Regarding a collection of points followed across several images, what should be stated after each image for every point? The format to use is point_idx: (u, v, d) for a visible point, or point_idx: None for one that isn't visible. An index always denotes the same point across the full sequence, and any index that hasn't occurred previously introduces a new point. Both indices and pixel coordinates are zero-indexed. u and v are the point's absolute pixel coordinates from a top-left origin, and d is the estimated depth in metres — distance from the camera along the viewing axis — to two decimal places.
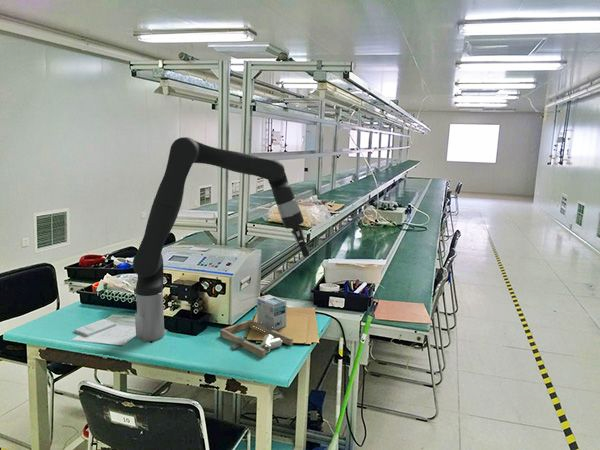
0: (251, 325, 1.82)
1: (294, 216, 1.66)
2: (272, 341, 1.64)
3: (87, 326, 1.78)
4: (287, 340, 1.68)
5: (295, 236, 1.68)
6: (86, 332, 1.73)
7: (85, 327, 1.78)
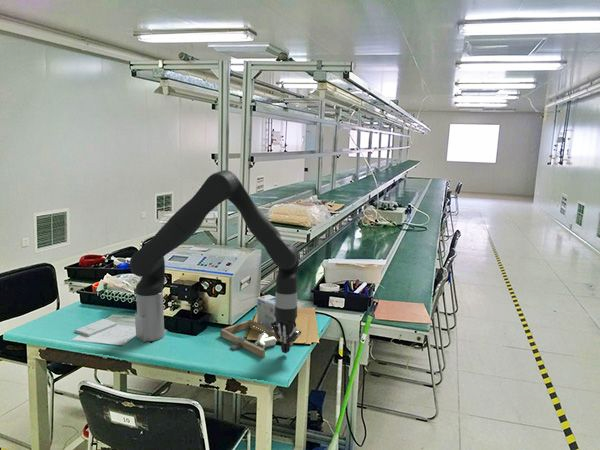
0: (251, 325, 1.82)
1: (295, 309, 1.55)
2: (266, 339, 1.65)
3: (88, 326, 1.78)
4: None
5: (286, 331, 1.56)
6: (87, 332, 1.73)
7: (86, 327, 1.78)
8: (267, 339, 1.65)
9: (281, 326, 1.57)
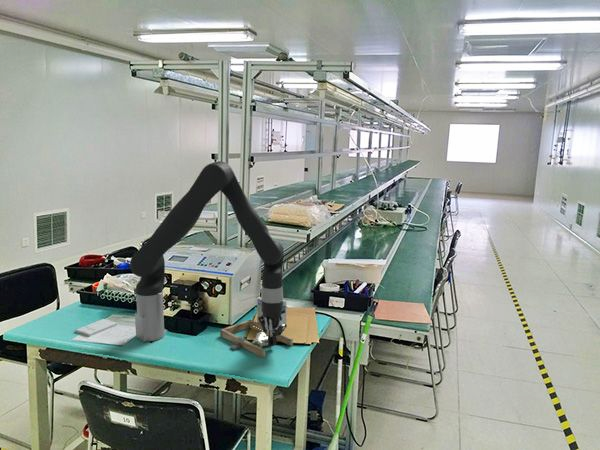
0: (251, 325, 1.82)
1: (281, 303, 1.60)
2: (264, 338, 1.66)
3: (88, 326, 1.78)
4: (287, 340, 1.68)
5: (272, 325, 1.61)
6: (88, 332, 1.73)
7: (86, 327, 1.78)
8: (265, 338, 1.66)
9: (267, 320, 1.62)
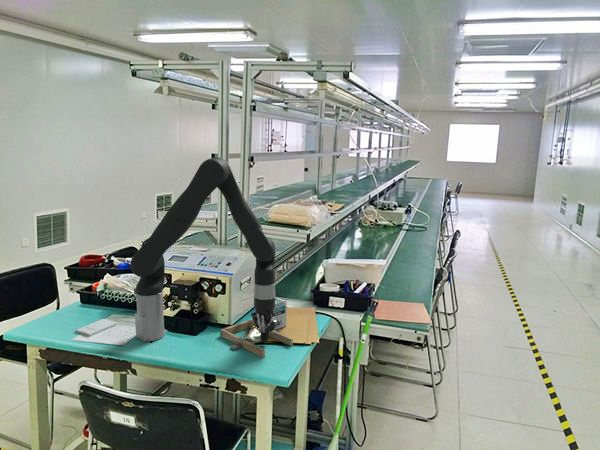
0: (251, 325, 1.82)
1: (273, 300, 1.63)
2: (256, 335, 1.68)
3: (88, 326, 1.78)
4: (287, 340, 1.68)
5: (265, 321, 1.64)
6: (88, 332, 1.73)
7: (86, 327, 1.78)
8: (257, 335, 1.69)
9: (260, 316, 1.65)
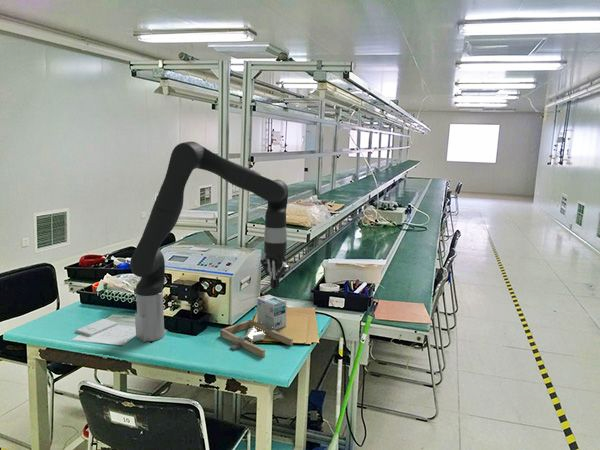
0: (251, 325, 1.82)
1: (284, 244, 1.55)
2: (254, 334, 1.69)
3: (88, 326, 1.78)
4: (287, 340, 1.68)
5: (275, 267, 1.56)
6: (89, 332, 1.73)
7: (86, 327, 1.78)
8: (255, 334, 1.70)
9: (270, 262, 1.58)
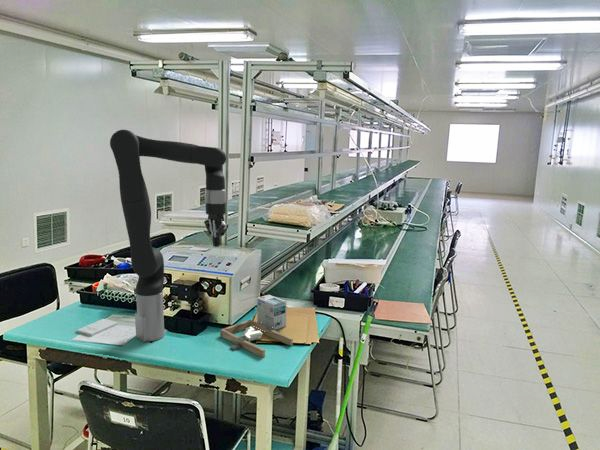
0: (251, 325, 1.82)
1: (223, 205, 1.73)
2: (252, 333, 1.70)
3: (89, 326, 1.78)
4: (287, 340, 1.68)
5: (216, 226, 1.75)
6: (89, 332, 1.73)
7: (87, 327, 1.78)
8: (253, 333, 1.70)
9: (211, 222, 1.76)
